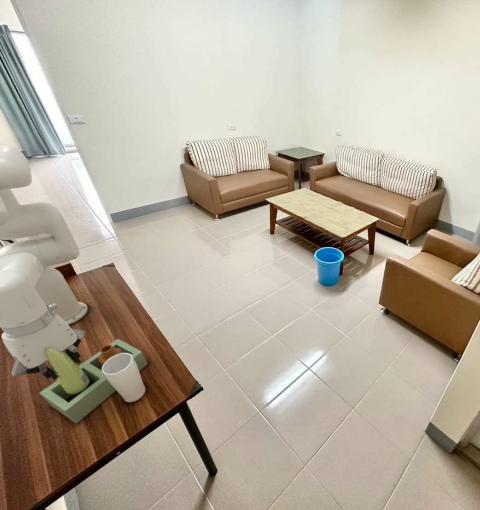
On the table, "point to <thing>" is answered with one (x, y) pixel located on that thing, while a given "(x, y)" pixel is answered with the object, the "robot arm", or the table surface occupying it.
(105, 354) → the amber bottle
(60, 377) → the tube
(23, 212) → the robot arm
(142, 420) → the table surface
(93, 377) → the caddy
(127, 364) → the white cup
